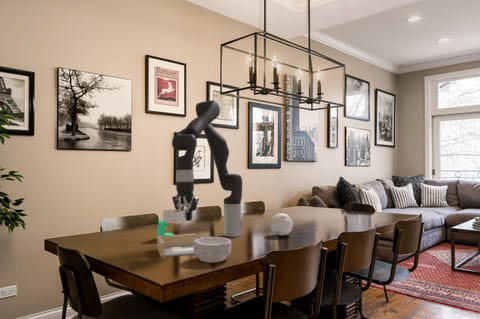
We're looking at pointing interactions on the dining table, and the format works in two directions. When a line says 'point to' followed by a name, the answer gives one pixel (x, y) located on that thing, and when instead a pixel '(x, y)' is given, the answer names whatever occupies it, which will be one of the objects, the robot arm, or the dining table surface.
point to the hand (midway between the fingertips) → (185, 220)
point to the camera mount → (162, 229)
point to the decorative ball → (281, 224)
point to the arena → (176, 245)
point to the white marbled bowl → (212, 248)
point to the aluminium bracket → (175, 216)
